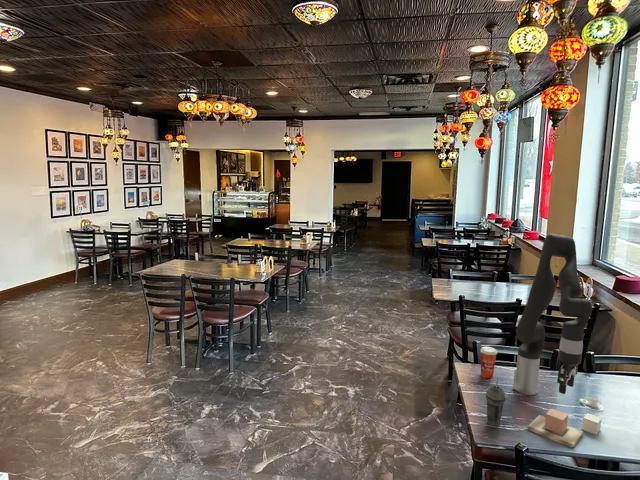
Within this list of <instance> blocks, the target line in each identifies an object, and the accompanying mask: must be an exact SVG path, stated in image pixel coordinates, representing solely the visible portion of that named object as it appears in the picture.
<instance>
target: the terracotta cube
mask: <svg viewBox="0 0 640 480" xmlns="http://www.w3.org/2000/svg"><path fill="white" fill-rule="evenodd" d="M545 417H546V419H545V429H548V430H550V431H553V432H555V433H558V434H560V435H562V434H563V433H564V431H565V430H566V429H567V426H568V418H569V414H568V413H565V412H563V411H559V410H558V409H555V408H550V409H549V410H548V411H547V412H546V413H545Z"/></svg>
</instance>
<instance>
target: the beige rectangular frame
mask: <svg viewBox="0 0 640 480" xmlns="http://www.w3.org/2000/svg"><path fill="white" fill-rule="evenodd" d="M545 419H546V416H544V415H541V414H538V416H536V417H535V418H534V419H533V420H532V421H531V422H530V423H529V424H528V425H527V430H529V431H530V432H532V433H535V434H537V435H540V436H542V437H544V438H546V439H550V440H551V441H554V442H557V443H560V445H561V444H562V445H563V444H564V446H566V445H567V446H566V447H568V446H570V447H569V448H571V447H576V445H577V444H578V443H579V441H580V440H581V438H582V437H583V435H584V431H583V430H580V429H577V428H574V427H572V426H569V425H567V429H566V430H565V431H564V433H563V434H562V435H560V434H558V433H555V432H553V431H550V430H548V429H545Z"/></svg>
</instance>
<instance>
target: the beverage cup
mask: <svg viewBox="0 0 640 480" xmlns="http://www.w3.org/2000/svg"><path fill="white" fill-rule="evenodd" d="M495 381H496V382H495V385H493V386H490V387H489V388H488V389H487V390H486V393H485V396H486V397H485V398H486V420H487V424H488V425H489V426H490V427H495V428H496V427H499V426H500V423H501V419H502V413H503V409H504V404H505V401H506V399H507V398H506V393H505V391H504V389H503V388H501V387H500V386H498V385H499V377H496V380H495Z"/></svg>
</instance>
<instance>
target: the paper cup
mask: <svg viewBox="0 0 640 480" xmlns="http://www.w3.org/2000/svg"><path fill="white" fill-rule="evenodd" d="M479 351H480V376H481V377H482V378H484V379H493V377H494V371H495V365H496V358H497V354H498V352H497V349H495V348H494V347H491V346H482V347H481V349H480V350H479Z"/></svg>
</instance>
